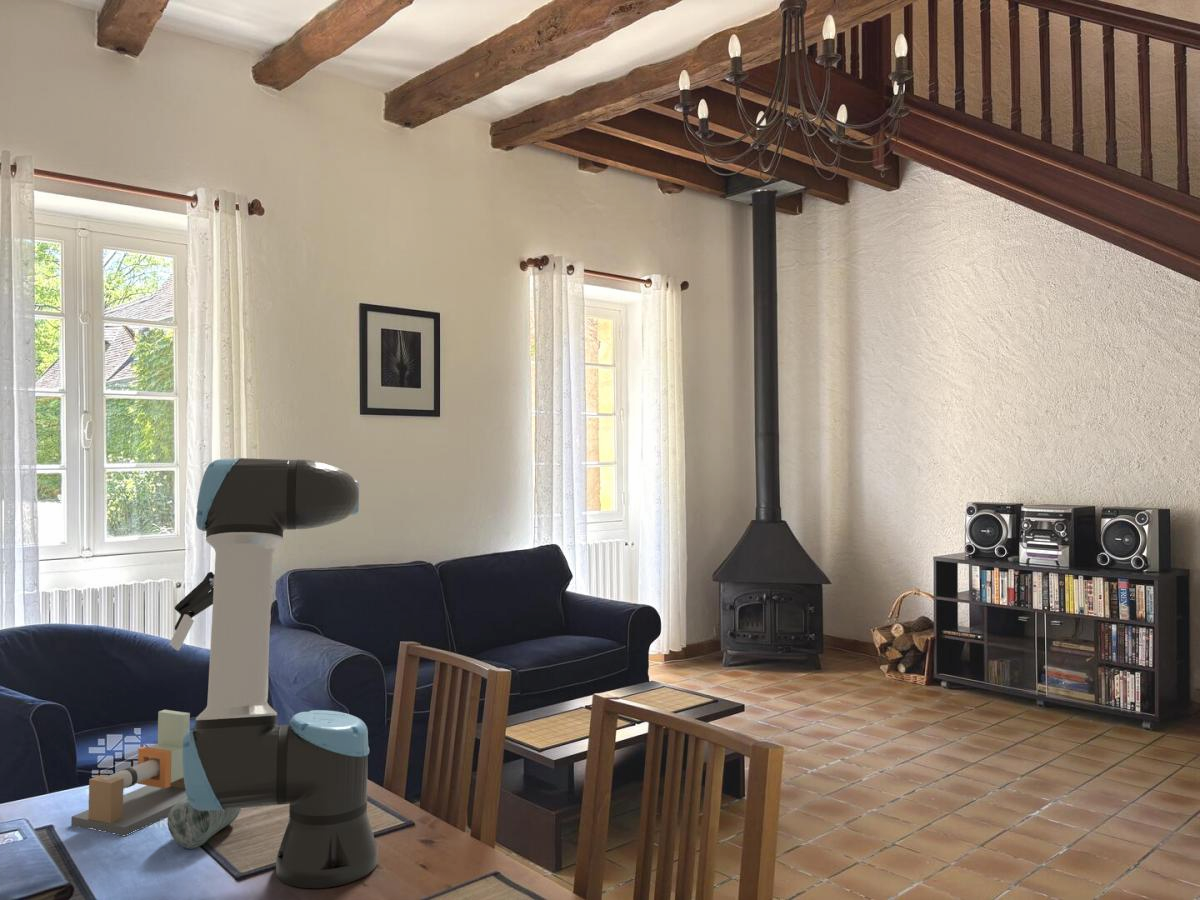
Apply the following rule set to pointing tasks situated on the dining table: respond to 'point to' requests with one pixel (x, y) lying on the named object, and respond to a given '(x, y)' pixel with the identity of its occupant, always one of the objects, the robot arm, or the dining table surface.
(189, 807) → the grey rounded lump
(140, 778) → the rig
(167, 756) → the ring
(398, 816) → the dining table surface
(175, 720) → the sleeve
